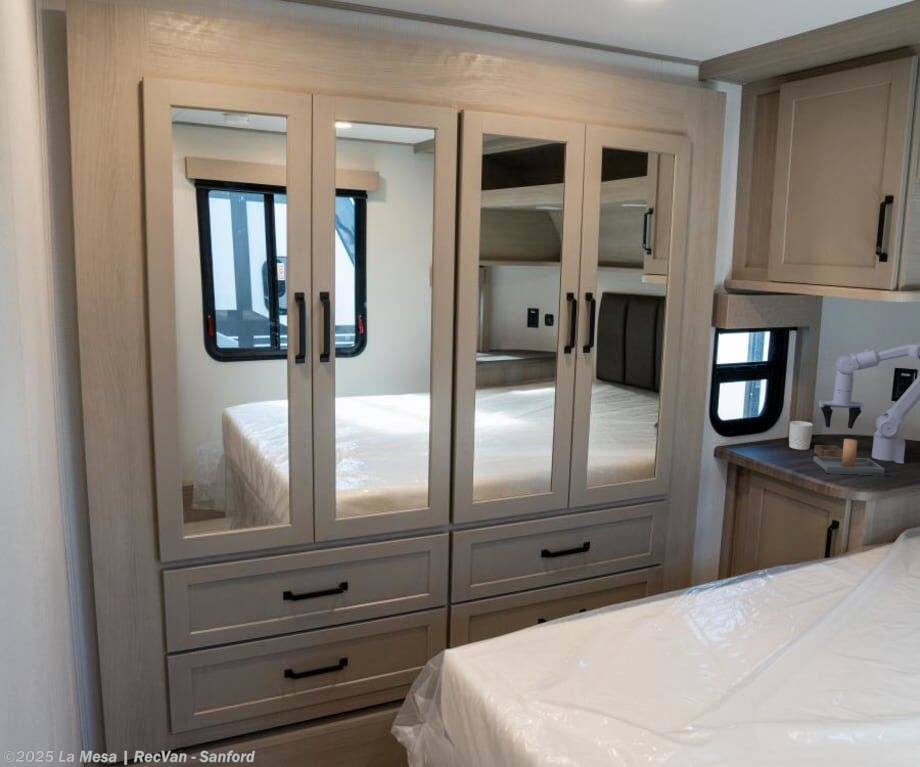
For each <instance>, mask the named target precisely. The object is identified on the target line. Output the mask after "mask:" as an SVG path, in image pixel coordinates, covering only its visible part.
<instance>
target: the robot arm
mask: <svg viewBox="0 0 920 767" xmlns="http://www.w3.org/2000/svg"><path fill="white" fill-rule="evenodd" d="M849 355H850V356H849ZM849 355H842V356H840V357H839V358H838V359H837V361H836V363H835V366H836V368H837V369H836V376H835V379H834V380H835V381H834V388H833V395H832V396H833V397H832V398H833V399H832V400H819V403H818V406H819V407H820V409H821V411H822V415H823V417H824V423H825V427H826V428H827V429H828V428H829V429H830V427H831V418H832V414H833V411H834V410H833V409H832V408H839V409H840V408H841V409H845V408H846V409H848V422H847V428H849V429H851V430H853V427H854V424H855V422H856V420H857V418H858V417H859V416H860V415H861V413H862V410H864V407H865V403H863V402H860V401H859V402H856V401H852V395H853V387H854V372H855V371H860V370H865V369H869V368H873V367H877V366H879V365H880V363H881V362H882V361H889V360H892V359H898V358H902V357H911V358H914V359H919V360H920V342H919V341H916V342H910V343H907V344H902V345H899V346H896V347H892V348H889V349H885V350H881V351H876V350H875V349H871V350H870V349H869V348H867V349H865V350H864V351H861V352H859V353H850V354H849ZM919 401H920V374H919V375H918V376H917V377H916V378H915V380H914V381H913V382H912V383H911V384H910V386H909V387H908V388H907V389H906V390H905V392H903V393H902V395H901V396H900V398H899V399H897V401H896V402H895V403H894V405H893V406H892V407H890V408H889V409H888V410H886V411H885V413H883V414H880V415H879V416H877V418H876V419H875V424H874V425H875V427H876V429H877V430H876V431H875V432H874V433H873V440H872V450H871V458H872V459H876V460H880V461H887V462H888V461H893V462H895V463H896V464H905V461H904V460H905V449H906V441H905V438H904V437H903V436H902V435H901V436H900V435H898V433H899V432H900V426H901V425H902V424H903V422H904V421H905V420H904V419H905V417H906V416H907V415H908V413H909V412H910V411H911V410H912V409H913V408H914V407H915V405H916V404H917V403H918V402H919Z"/></svg>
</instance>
